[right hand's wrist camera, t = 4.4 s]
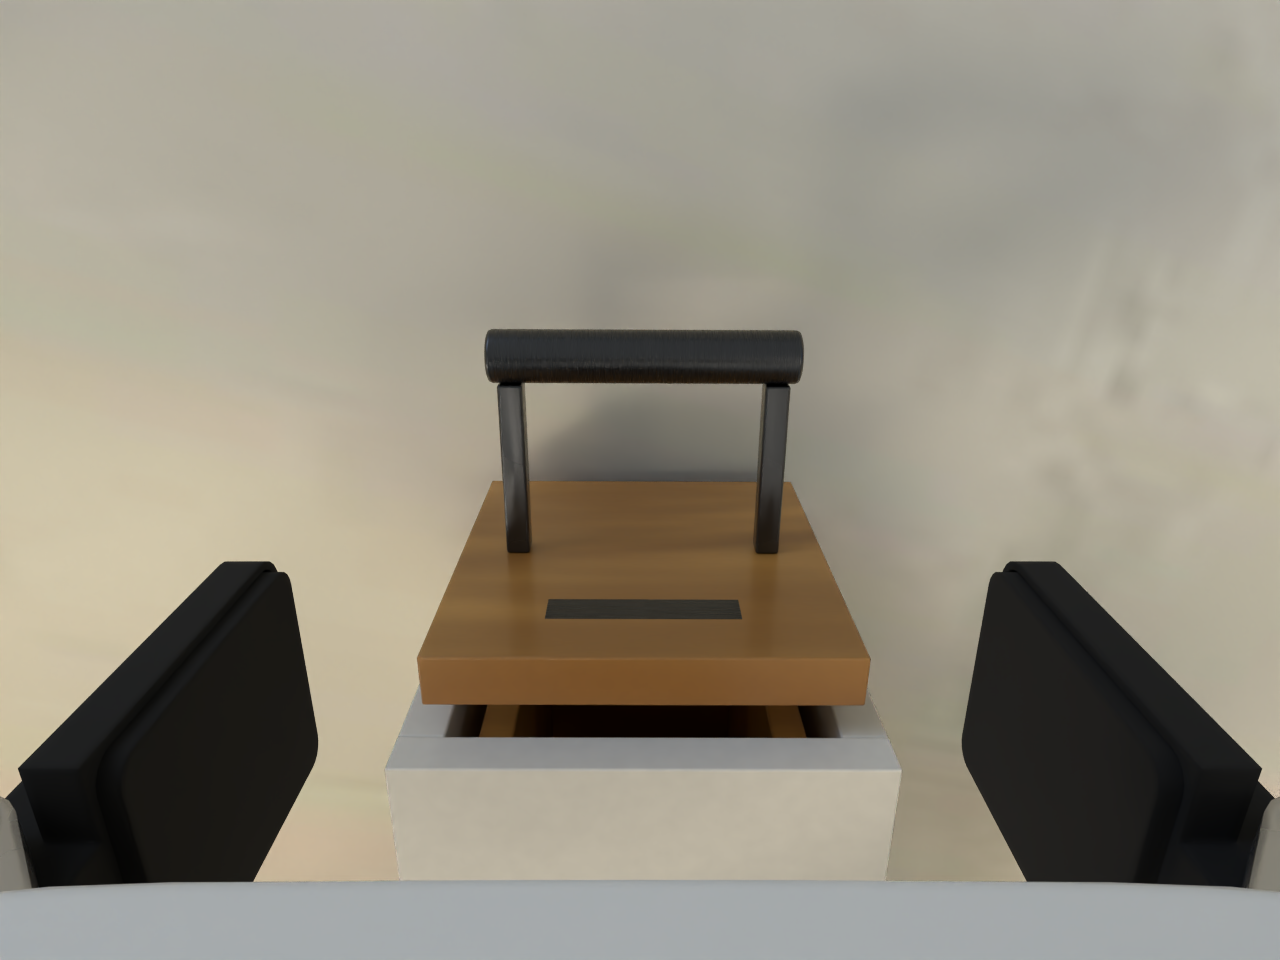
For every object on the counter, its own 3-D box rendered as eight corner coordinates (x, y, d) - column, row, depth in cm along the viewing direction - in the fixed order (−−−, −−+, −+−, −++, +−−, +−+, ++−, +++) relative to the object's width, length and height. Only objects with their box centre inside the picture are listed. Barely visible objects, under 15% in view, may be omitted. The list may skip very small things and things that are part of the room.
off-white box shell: (482, 524, 28) (383, 768, 17) (799, 525, 28) (903, 770, 17) (504, 837, 33) (439, 1181, 22) (773, 838, 33) (840, 1181, 22)
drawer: (479, 295, 24) (385, 386, 15) (805, 296, 24) (905, 389, 15) (512, 789, 31) (460, 1057, 22) (767, 789, 31) (821, 1057, 22)
